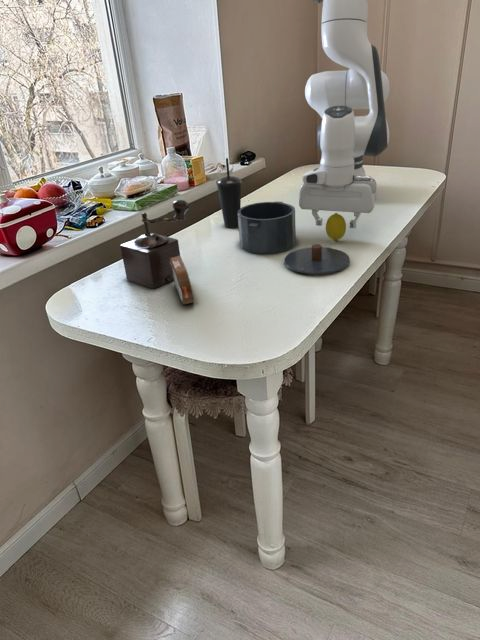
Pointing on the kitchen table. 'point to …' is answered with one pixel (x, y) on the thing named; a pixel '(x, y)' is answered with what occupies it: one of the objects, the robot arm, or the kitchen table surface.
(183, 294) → the tin
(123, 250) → the manual coffee grinder
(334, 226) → the lemon
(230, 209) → the drinking cup
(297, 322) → the kitchen table surface
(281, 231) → the pot
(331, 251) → the lid
